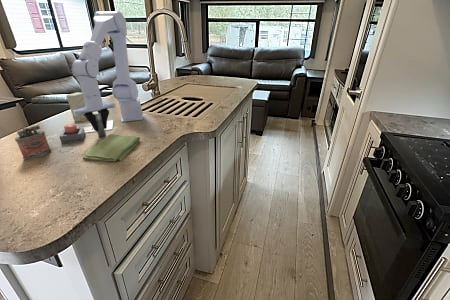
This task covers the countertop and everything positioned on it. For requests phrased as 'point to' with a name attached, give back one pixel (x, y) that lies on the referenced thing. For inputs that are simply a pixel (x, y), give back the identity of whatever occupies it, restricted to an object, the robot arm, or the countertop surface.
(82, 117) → the skincare box
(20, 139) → the lighter
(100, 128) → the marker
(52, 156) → the countertop surface
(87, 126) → the paper sheet
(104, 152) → the washcloth
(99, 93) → the robot arm
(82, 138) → the button housing
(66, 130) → the button
